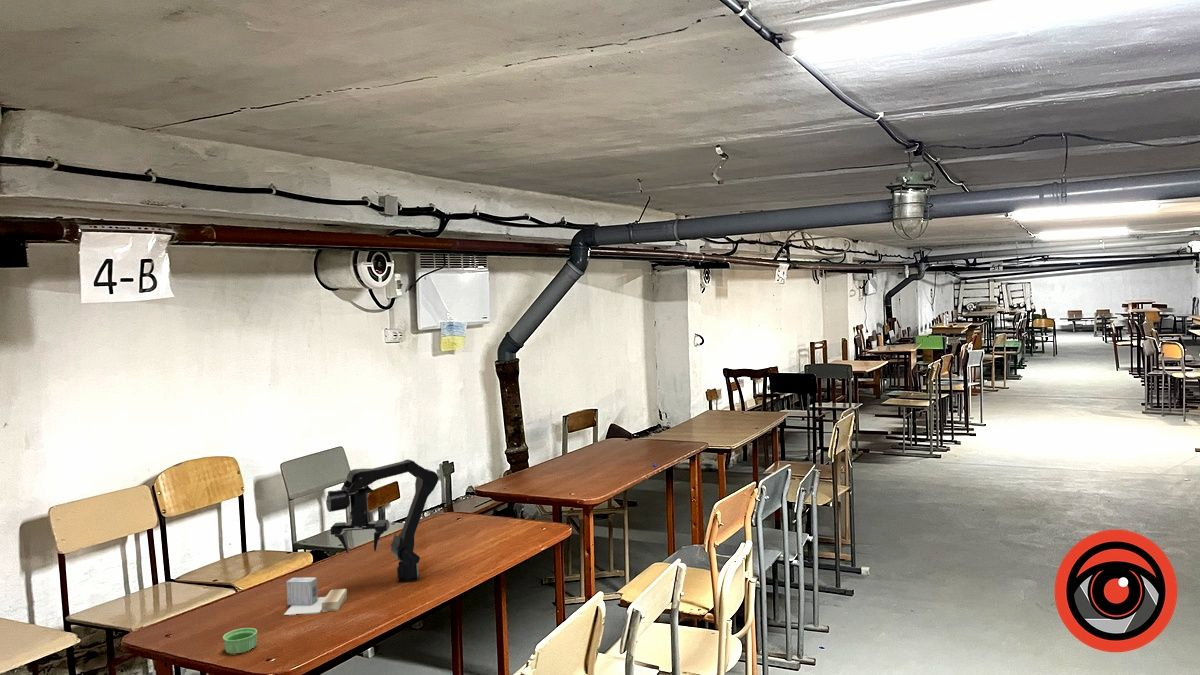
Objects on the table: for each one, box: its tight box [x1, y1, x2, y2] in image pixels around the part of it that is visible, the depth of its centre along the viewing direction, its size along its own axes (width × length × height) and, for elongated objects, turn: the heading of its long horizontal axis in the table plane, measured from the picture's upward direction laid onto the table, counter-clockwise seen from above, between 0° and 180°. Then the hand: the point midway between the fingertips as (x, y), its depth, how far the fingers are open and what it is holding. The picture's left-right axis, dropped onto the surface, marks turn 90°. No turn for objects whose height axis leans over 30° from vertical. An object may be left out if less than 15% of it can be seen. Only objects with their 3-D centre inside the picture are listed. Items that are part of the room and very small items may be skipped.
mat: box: [283, 596, 326, 616], centre depth 261 cm, size 11×14×1 cm
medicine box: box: [285, 576, 319, 606], centre depth 263 cm, size 8×4×9 cm
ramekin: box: [222, 627, 258, 655], centre depth 229 cm, size 9×9×4 cm
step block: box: [321, 588, 348, 613], centre depth 261 cm, size 5×12×3 cm, turn 4°
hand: (361, 551), depth 274 cm, fingers open, 9 cm apart
